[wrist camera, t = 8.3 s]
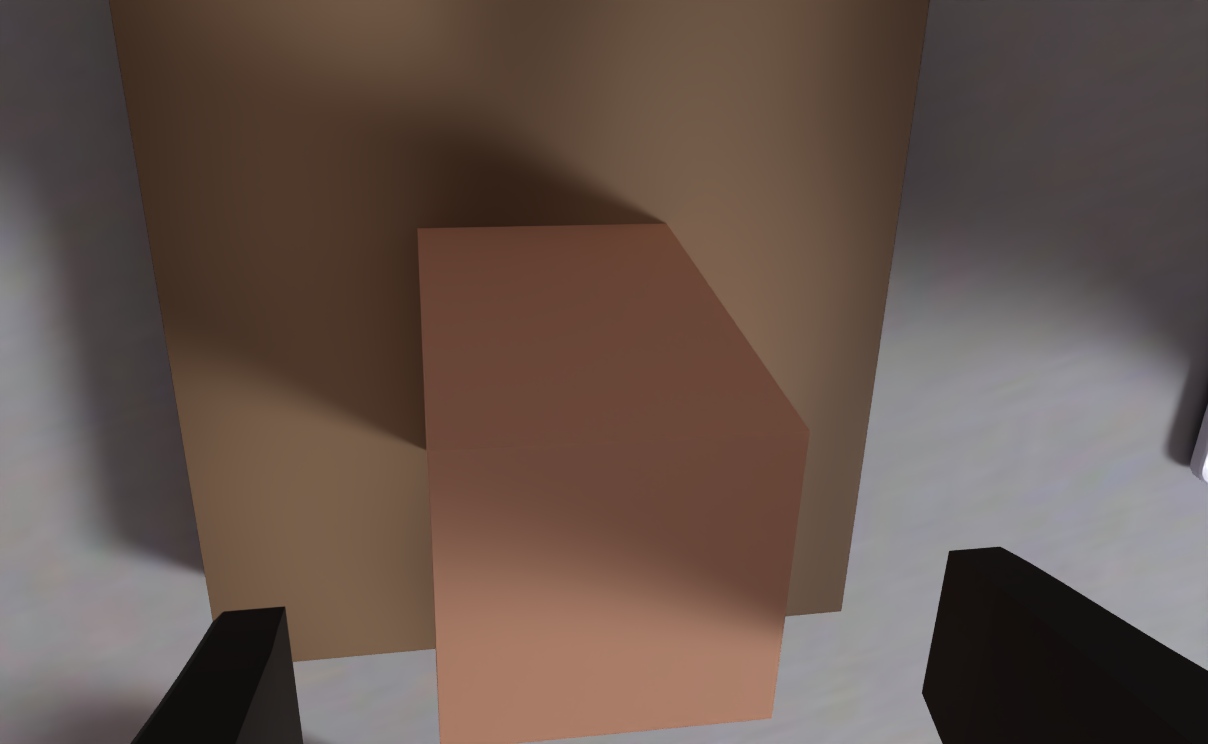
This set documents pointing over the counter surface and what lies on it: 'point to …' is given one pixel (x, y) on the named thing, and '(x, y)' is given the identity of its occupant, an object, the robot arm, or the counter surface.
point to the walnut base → (487, 199)
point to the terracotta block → (599, 487)
